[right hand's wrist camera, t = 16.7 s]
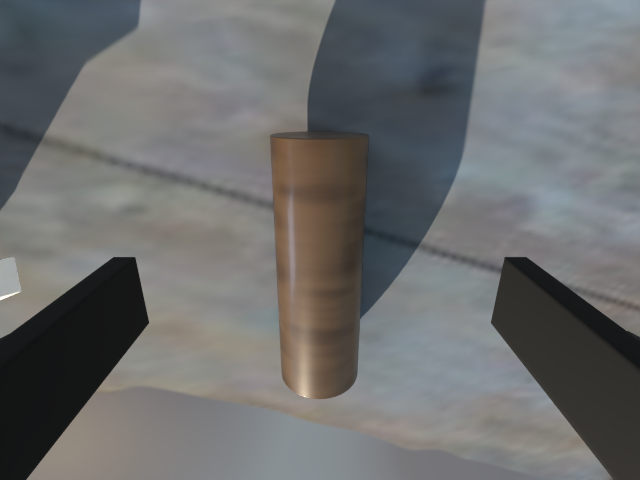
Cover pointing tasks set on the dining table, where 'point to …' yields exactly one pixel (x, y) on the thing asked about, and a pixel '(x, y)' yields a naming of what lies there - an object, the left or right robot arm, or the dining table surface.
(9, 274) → the white plastic object
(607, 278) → the dining table surface
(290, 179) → the rod
